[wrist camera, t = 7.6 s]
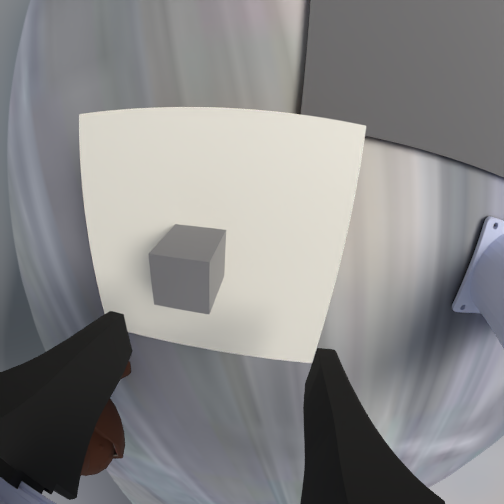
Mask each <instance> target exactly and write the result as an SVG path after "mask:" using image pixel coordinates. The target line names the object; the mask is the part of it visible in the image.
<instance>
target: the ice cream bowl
mask: <svg viewBox="0 0 504 504" xmlns="http://www.w3.org/2000/svg"><path fill="white" fill-rule="evenodd" d="M130 373H131V366H130V362H129V361H128V364H127V366H126V369H125V371H124V373H123V375H122V377H121V379H122V378H124V377H126V376H128V375H129V374H130ZM124 448H125V438H124V430H123V426H122V422H121V418H120V416H119V414H118V411H117V409H116V406H115V405H114V403H113V402H112V401H111V399H110V398H109V400H108V402H107V404H106V406H105V408H104V409H103V411H102V413H101V415H100V417H99V419H98V421H97V424H96V426H95V429H94V432H93V434H92V437H91V440H90V443H89V446H88V449H87V452H86V455H85V459H84V463H83V467H82V471H81V475H85V476H87V475H93V474H97V473H99V472H101V471H102V470H104V469H106V468H107V467H108V465H109V464H110V463H111V461H112V459H113V458H123V454H124ZM81 475H80V476H81Z"/></svg>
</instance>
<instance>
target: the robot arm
mask: <svg viewBox="0 0 504 504" xmlns="http://www.w3.org/2000/svg"><path fill="white" fill-rule="evenodd" d="M494 224H495V226H494V227H493V225H494ZM462 305H463V306H462ZM461 306H462V307H461ZM452 309H453V311H454V312H463V313H481V314H482V315H483V317H484V318H485V320H486V321H487V323H488V324H489V326H490V327H491V329H492V330H493V332H494V334H495V335H496V337H497V338H498V340H499V342H500V343H501V345H502V346H503V348H504V220H501V219H498V218H495V217H491V216H489V217H487V218H486V219H485V222H484V225H483V228H482V231H481V234H480V237H479V240H478V243H477V246H476V249H475V251H474V254H473V257H472V259H471V262H470V265H469V267H468V270H467V272H466V275H465V277H464V279H463V282H462V284H461V286H460V289H459V291H458V293H457V295H456V298H455V300H454V302H453V304H452ZM131 353H132V348H131V344H130V340H129V336H128V331H127V327H126V323H125V318H124V314H121V313H117V312H113V311H109V312H108V313H106V314H105V315H103V316H101V317H100V318H98V319H97V320H95V321H94V322H92V323H91V324H89V325H88V326H86V327H85V328H84V329H82V330H80V331H79V332H77V333H76V334H74V335H73V336H71V337H70V338H68V339H67V340H65V341H64V342H62V343H60V344H59V345H57V346H55V347H54V348H52V349H50V350H49V351H47V352H45V353H44V354H42V355H40V356H38V357H36V358H34V359H32V360H30V361H28V362H26V363H24V364H21V365H18V366H16V367H13V368H11V369H9V370H6V371H3V372H0V504H56V503H55V502H53V501H51V500H50V499H48V498H46V497H45V496H43V495H42V492H43V490H45V491H46V492H48V493H49V494H52V492H53V491H55V492H57V493H58V494H60V495H62V496H64V497H66V498H67V499H69V500H70V499H75V498H76V497H77V492H78V486H79V480H80V475H81V471H82V467H83V463H84V459H85V455H86V452H87V449H88V446H89V443H90V440H91V437H92V434H93V432H94V429H95V426H96V424H97V421H98V419H99V417H100V415H101V413H102V411H103V409H104V408H105V406H106V404H107V402H108V400H109V398H110V397H111V395H112V393H113V391H114V390H115V388H116V386H117V384H118V382H119V381H120V379H121V377H122V375H123V373H124V371H125V369H126V366H127V364H128V361H129V359H130V356H131ZM303 409H304V439H305V471H304V480H303V489H302V497H301V504H445V501H444V500H442V499H441V498H440V497H439V496H437V495H436V494H434V492H432V491H431V490H430V489H429V488H427V487H426V486H425V485H424V484H423V483H422V482H421V481H420V480H419V479H418V478H417V477H415V476H414V475H413V474H412V473H411V471H410V470H409V469H408V468H407V467H406V466H405V465H404V464H403V463H402V462H401V460H400V459H399V458H398V457H397V456H396V455H395V454H394V452H393V451H392V450H391V449H390V447H389V446H388V445H387V443H386V442H385V441H384V439H383V438H382V436H381V435H380V434H379V432H378V431H377V429H376V428H375V426H374V425H373V423H372V422H371V420H370V418H369V417H368V415H367V413H366V412H365V410H364V408H363V406H362V405H361V403H360V401H359V399H358V397H357V395H356V393H355V392H354V390H353V388H352V386H351V384H350V382H349V380H348V377H347V375H346V373H345V371H344V369H343V367H342V364H341V362H340V360H339V358H338V355H337V353H336V351H335V350H332V349H322V348H317V351H316V354H315V357H314V360H313V363H312V366H311V369H310V372H309V375H308V377H307V380H306V383H305V394H304V407H303Z"/></svg>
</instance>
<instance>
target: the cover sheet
mask: <svg viewBox="0 0 504 504" xmlns="http://www.w3.org/2000/svg"><path fill="white" fill-rule="evenodd" d="M365 132H366V126H365V125H360V124H355V123H350V122H345V121H339V120H333V119H328V118H321V117H315V116H308V115H300V114H293V113H284V112H275V111H264V110H252V109H237V108H214V107H160V108H138V109H124V110H112V111H102V112H93V113H85V114H79V142H80V164H81V178H82V190H83V199H84V208H85V216H86V224H87V230H88V237H89V243H90V249H91V255H92V260H93V265H94V270H95V275H96V280H97V284H98V289H99V293H100V297H101V302H102V306H103V310H104V313H105V314H106V313H108V312H109V311H113V312H117V313H121V314H124V318H125V323H126V327H127V331H128V332H130V333H134V334H138V335H142V336H147V337H151V338H155V339H160V340H164V341H169V342H173V343H178V344H183V345H188V346H193V347H198V348H204V349H209V350H215V351H221V352H227V353H233V354H240V355H246V356H253V357H261V358H269V359H277V360H285V361H295V362H305V363H312V361H313V358H314V354H315V351H316V348H317V345H318V342H319V339H320V335H321V332H322V329H323V325H324V322H325V318H326V315H327V311H328V308H329V304H330V301H331V297H332V293H333V290H334V286H335V282H336V278H337V274H338V270H339V266H340V262H341V258H342V254H343V250H344V245H345V241H346V236H347V232H348V227H349V223H350V218H351V213H352V208H353V203H354V198H355V193H356V187H357V182H358V176H359V171H360V165H361V159H362V152H363V146H364V139H365Z"/></svg>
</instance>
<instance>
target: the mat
mask: <svg viewBox="0 0 504 504" xmlns="http://www.w3.org/2000/svg"><path fill="white" fill-rule="evenodd" d="M300 115H308V116H315V117H321V118H328V119H333V120H339V121H345V122H350V123H355V124H360V125H365V126H366V132H365V136H369V137H374V138H378V139H383V140H387V141H391V142H395V143H399V144H403V145H407V146H411V147H415V148H418V149H422V150H426V151H429V152H432V153H436V154H439V155H442V156H446V157H449V158H452V159H455V160H458V161H461V162H464V163H467V164H470V165H472V166H475V167H478V168H481V169H483V170H486V171H489V172H491V173H494V174H496V175H499V176H501V177H504V0H310V11H309V25H308V38H307V50H306V62H305V73H304V83H303V94H302V103H301V113H300Z"/></svg>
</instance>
